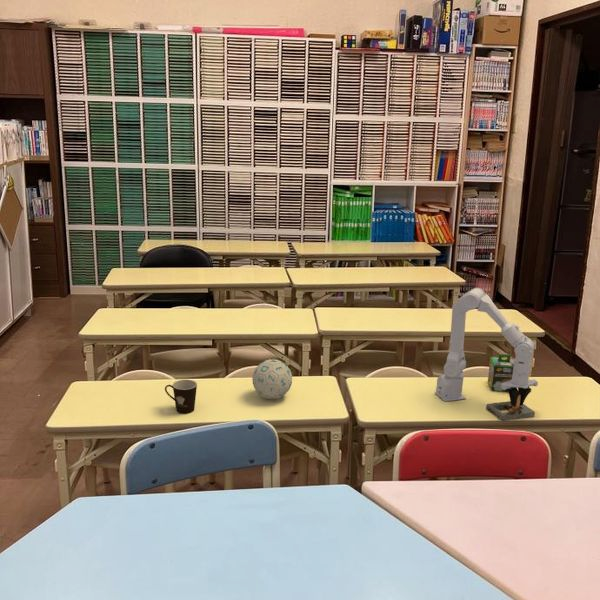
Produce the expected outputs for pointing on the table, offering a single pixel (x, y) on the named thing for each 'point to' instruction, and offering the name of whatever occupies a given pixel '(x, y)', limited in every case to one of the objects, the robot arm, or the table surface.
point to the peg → (516, 404)
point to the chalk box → (500, 371)
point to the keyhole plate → (517, 414)
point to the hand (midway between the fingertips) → (516, 405)
